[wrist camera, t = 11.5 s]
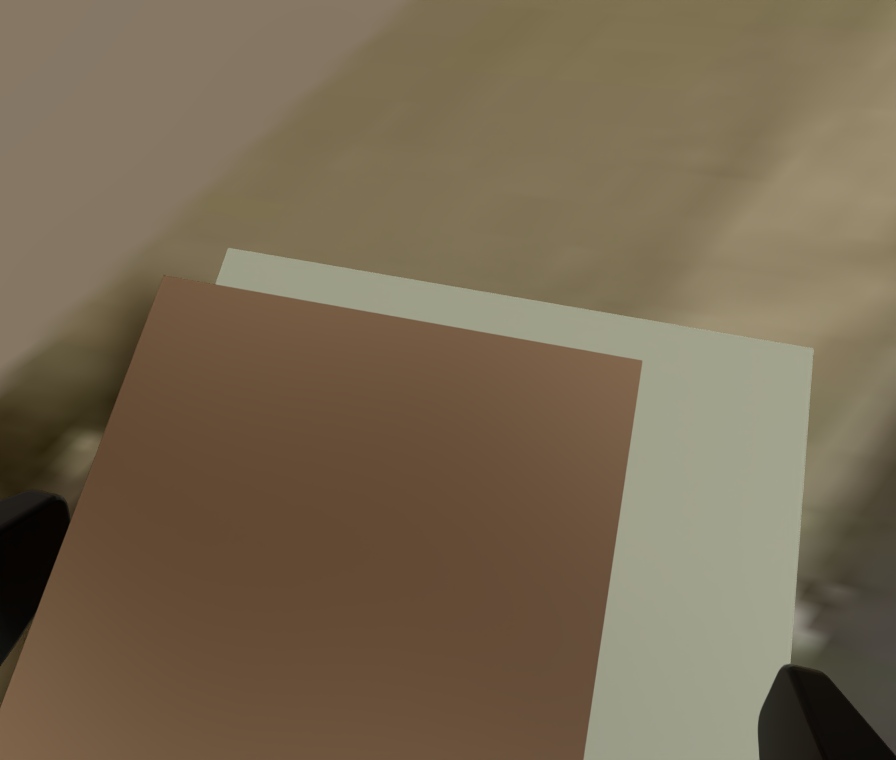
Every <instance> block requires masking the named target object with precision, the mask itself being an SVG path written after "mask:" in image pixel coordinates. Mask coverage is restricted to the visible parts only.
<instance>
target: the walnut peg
mask: <svg viewBox="0 0 896 760" xmlns="http://www.w3.org/2000/svg"><path fill="white" fill-rule="evenodd" d="M642 362H643V361H642V360H637V359H631V358H625V357H620V356H614V355H609V354H603V353H597V352H592V351H586V350H581V349H575V348H569V347H564V346H558V345H553V344H547V343H541V342H536V341H530V340H525V339H519V338H513V337H508V336H502V335H496V334H491V333H485V332H480V331H474V330H468V329H463V328H457V327H452V326H446V325H440V324H435V323H429V322H424V321H418V320H412V319H407V318H401V317H396V316H390V315H384V314H379V313H373V312H367V311H362V310H356V309H351V308H345V307H339V306H334V305H328V304H323V303H317V302H311V301H306V300H300V299H295V298H289V297H283V296H278V295H272V294H267V293H261V292H255V291H250V290H244V289H239V288H233V287H227V286H222V285H216V284H210V283H205V282H199V281H194V280H188V279H182V278H177V277H171V276H166V275H163V278H162V281H161V283H160V286H159V289H158V291H157V294H156V297H155V299H154V302H153V304H152V307H151V310H150V312H149V315H148V318H147V320H146V323H145V326H144V328H143V331H142V334H141V336H140V339H139V342H138V344H137V347H136V349H135V352H134V355H133V357H132V360H131V363H130V365H129V368H128V371H127V373H126V376H125V379H124V381H123V384H122V387H121V389H120V392H119V395H118V397H117V400H116V402H115V405H114V408H113V410H112V413H111V416H110V418H109V421H108V424H107V426H106V429H105V432H104V434H103V437H102V440H101V442H100V445H99V447H98V450H97V453H96V455H95V458H94V461H93V463H92V466H91V469H90V471H89V474H88V477H87V479H86V482H85V485H84V487H83V490H82V492H81V495H80V498H79V500H78V503H77V506H76V508H75V511H74V514H73V516H72V519H71V522H70V524H69V527H68V530H67V532H66V535H65V538H64V540H63V543H62V545H61V548H60V551H59V553H58V556H57V559H56V561H55V564H54V567H53V569H52V572H51V575H50V577H49V580H48V583H47V585H46V588H45V590H44V593H43V596H42V598H41V601H40V604H39V606H38V609H37V612H36V614H35V617H34V620H33V622H32V625H31V628H30V630H29V633H28V636H27V638H26V641H25V643H24V646H23V649H22V651H21V654H20V657H19V659H18V662H17V665H16V667H15V670H14V673H13V675H12V678H11V681H10V683H9V686H8V688H7V691H6V694H5V696H4V699H3V702H2V704H1V707H0V760H584V753H585V746H586V739H587V733H588V726H589V719H590V712H591V706H592V699H593V692H594V685H595V679H596V672H597V665H598V658H599V652H600V645H601V638H602V631H603V625H604V618H605V611H606V604H607V598H608V591H609V584H610V577H611V571H612V564H613V557H614V550H615V544H616V537H617V530H618V523H619V517H620V510H621V503H622V497H623V490H624V483H625V476H626V470H627V463H628V456H629V449H630V443H631V436H632V429H633V422H634V416H635V409H636V402H637V395H638V389H639V382H640V375H641V368H642Z"/></svg>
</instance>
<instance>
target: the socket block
mask: <svg viewBox="0 0 896 760" xmlns="http://www.w3.org/2000/svg"><path fill="white" fill-rule="evenodd" d="M216 285H222V286H227V287H233V288H239V289H244V290H250V291H255V292H261V293H267V294H272V295H278V296H283V297H289V298H295V299H300V300H306V301H311V302H317V303H323V304H328V305H334V306H339V307H345V308H351V309H356V310H362V311H367V312H373V313H379V314H384V315H390V316H396V317H401V318H407V319H412V320H418V321H424V322H429V323H435V324H440V325H446V326H452V327H457V328H463V329H468V330H474V331H480V332H485V333H491V334H496V335H502V336H508V337H513V338H519V339H525V340H530V341H536V342H541V343H547V344H553V345H558V346H564V347H569V348H575V349H581V350H586V351H592V352H597V353H603V354H609V355H614V356H620V357H625V358H631V359H637V360H642V361H643V362H642V368H641V375H640V382H639V389H638V395H637V402H636V409H635V416H634V422H633V429H632V436H631V443H630V449H629V456H628V463H627V470H626V476H625V483H624V490H623V497H622V503H621V510H620V517H619V523H618V530H617V537H616V544H615V550H614V557H613V564H612V571H611V577H610V584H609V591H608V598H607V604H606V611H605V618H604V625H603V631H602V638H601V645H600V652H599V658H598V665H597V672H596V679H595V685H594V692H593V699H592V706H591V712H590V719H589V726H588V733H587V739H586V746H585V753H584V760H759V748H758V719H759V714H760V710H761V708H762V706H763V703H764V701H765V699H766V697H767V695H768V693H769V690H770V688H771V686H772V684H773V682H774V679H775V677H776V675H777V673H778V671H779V670H780V668H781V667H782V666H783V665H785V664H790V661H791V648H792V634H793V621H794V607H795V594H796V580H797V567H798V553H799V540H800V526H801V513H802V499H803V486H804V472H805V459H806V445H807V432H808V418H809V404H810V391H811V377H812V364H813V350H814V348H808V347H802V346H796V345H790V344H785V343H779V342H773V341H767V340H761V339H756V338H750V337H744V336H738V335H732V334H727V333H721V332H715V331H709V330H703V329H697V328H692V327H686V326H680V325H674V324H668V323H663V322H657V321H651V320H645V319H639V318H633V317H628V316H622V315H616V314H610V313H604V312H599V311H593V310H587V309H581V308H575V307H570V306H564V305H558V304H552V303H546V302H540V301H535V300H529V299H523V298H517V297H511V296H506V295H500V294H494V293H488V292H482V291H476V290H471V289H465V288H459V287H453V286H447V285H442V284H436V283H430V282H424V281H418V280H413V279H407V278H401V277H395V276H389V275H383V274H378V273H372V272H366V271H360V270H354V269H349V268H343V267H337V266H331V265H325V264H320V263H314V262H308V261H302V260H296V259H290V258H285V257H279V256H273V255H267V254H261V253H256V252H250V251H244V250H238V249H232V248H228V250H227V253H226V256H225V259H224V262H223V264H222V267H221V270H220V273H219V276H218V278H217V281H216Z"/></svg>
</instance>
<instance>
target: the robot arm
mask: <svg viewBox="0 0 896 760" xmlns="http://www.w3.org/2000/svg"><path fill="white" fill-rule="evenodd" d="M70 522H71V520H70V515H69V509H68V505H67V502H66V500H65V499H64V498H63V497H62V496H60V495H57V494H53V493H49V492H44V491H40V490H29V491H25V492H23V493H20V494H17V495H14V496H11V497H8V498H5V499H3V500H0V666H1V664H2V663H3V662H4V660H5V659H6V657H7V656H8V654H9V653H10V652H11V650H12V649H13V647H14V646H15V644H16V643H17V641H18V640H19V638H20V637H21V635H22V634H23V632H24V631H25V629H26V628H27V626H28V625H29V623H30V622H31V620H32V619H33V617H34V616H35V614H36V612H37V609H38V606H39V604H40V601H41V598H42V596H43V593H44V590H45V588H46V585H47V583H48V580H49V577H50V575H51V572H52V569H53V567H54V564H55V561H56V559H57V556H58V553H59V551H60V548H61V545H62V543H63V540H64V538H65V535H66V532H67V530H68V527H69V524H70ZM758 748H759V760H896V755H895V754H894V753H893V752H892V751H891V750H890V748H889V747H888V746H887V745H886V744H885V743H884V741H883V740H882V739H881V738H880V737H879V736H878V734H877V733H876V732H875V731H874V730H873V729H872V727H871V726H870V725H869V724H868V723H867V722H866V720H865V719H864V718H863V717H862V716H861V715H860V713H859V712H858V711H857V710H856V709H855V708H854V706H853V705H852V704H851V703H850V702H849V701H848V699H847V698H846V697H845V696H844V695H843V694H842V692H841V691H840V690H839V689H838V688H837V687H836V685H835V684H834V683H833V682H832V681H831V680H830V678H829V677H828V676H827V675H825V674H824V673H823V672H821V671H818V670H815V669H811V668H806V667H802V666H798V665H793V664H785V665H783V666H782V667H781V668H780V670H779V671H778V673H777V675H776V677H775V679H774V682H773V684H772V686H771V688H770V690H769V693H768V695H767V697H766V699H765V701H764V703H763V706H762V708H761V710H760V714H759V719H758Z"/></svg>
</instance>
